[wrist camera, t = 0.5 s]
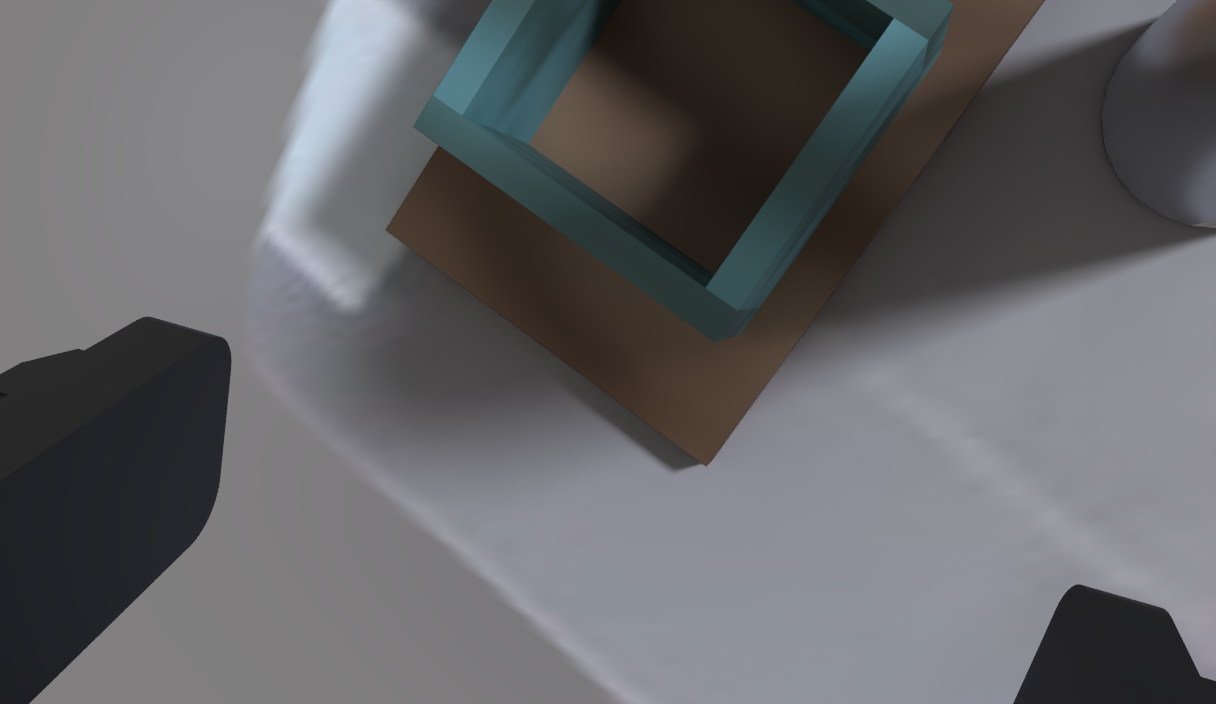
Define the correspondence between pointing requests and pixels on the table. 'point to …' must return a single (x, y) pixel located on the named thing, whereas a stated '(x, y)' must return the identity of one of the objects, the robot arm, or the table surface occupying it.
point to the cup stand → (686, 176)
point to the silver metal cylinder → (1168, 115)
